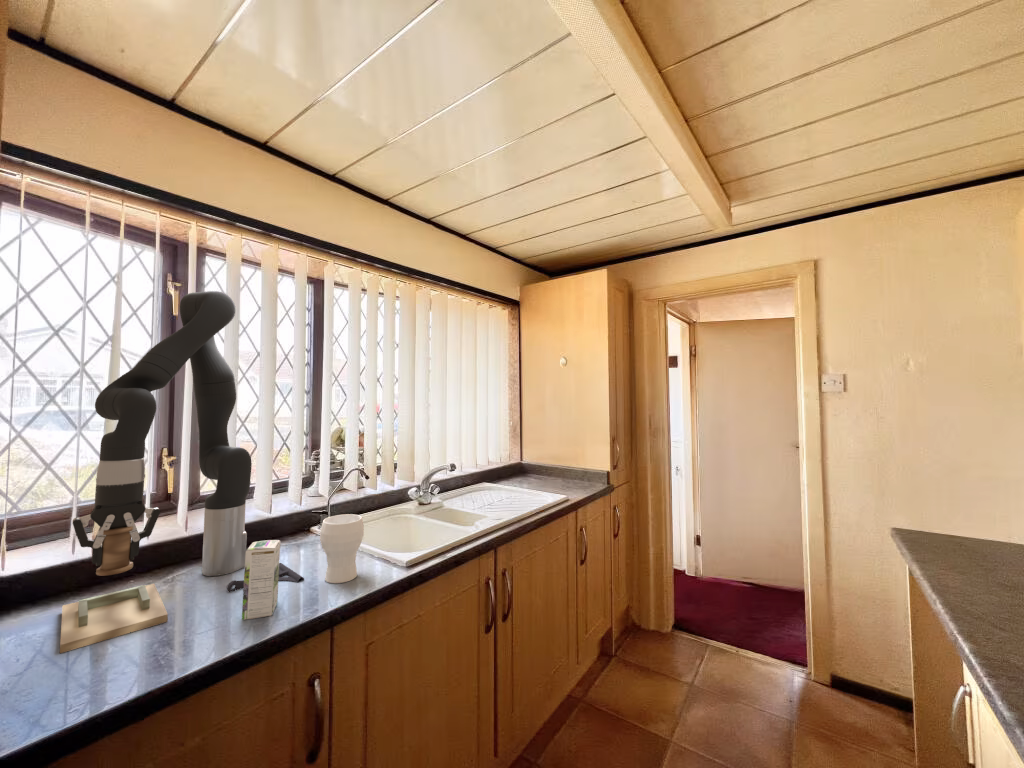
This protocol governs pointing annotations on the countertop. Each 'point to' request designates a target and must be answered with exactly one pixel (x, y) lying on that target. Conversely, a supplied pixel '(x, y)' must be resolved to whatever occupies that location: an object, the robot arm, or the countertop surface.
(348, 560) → the cup
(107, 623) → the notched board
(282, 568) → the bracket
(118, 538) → the wooden bobbin
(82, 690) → the countertop surface
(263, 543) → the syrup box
